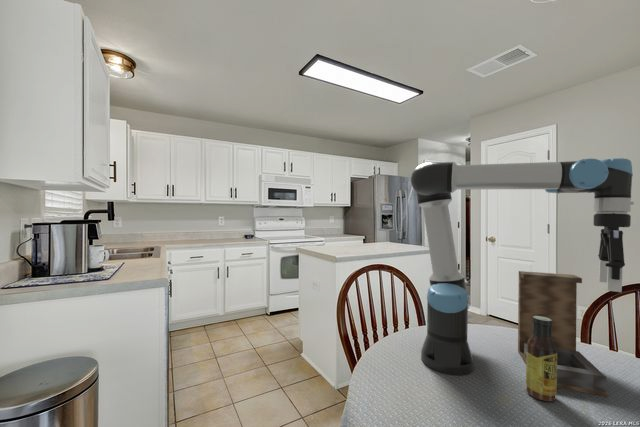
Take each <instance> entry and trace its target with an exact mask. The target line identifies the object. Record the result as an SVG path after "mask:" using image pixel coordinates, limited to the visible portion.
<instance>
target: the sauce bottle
mask: <svg viewBox="0 0 640 427" xmlns="http://www.w3.org/2000/svg"><path fill="white" fill-rule="evenodd" d="M551 326H552V320H551V319H549V318H547V317H542V316H533V335H532V336H531V337H530V338H529V340H528V343H527V362H526V364H525V365H526V369H525V385H526V392H527V394H528V395H529V396H531V397H532V398H535V399H537V400H539V401H544V402H549V403H550V402H554V401H555V400H556V395H557V388H558V387H557V351H556V348H555V345H554V343H553V340H552V337H551V336H552V335H551Z"/></svg>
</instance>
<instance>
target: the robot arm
mask: <svg viewBox="0 0 640 427" xmlns="http://www.w3.org/2000/svg"><path fill="white" fill-rule="evenodd" d="M632 164H633V163H632V161H631V160H630V159H629V158H624V157H623V158H622V157H620V158H606V159H605V158H604V159H601V160H600V159H597V158H582V159H579V160H576V161H575V160H573V161H570V160H569V161H548V162H547V161H545V162H521V163H520V162H519V163H518V162H516V163H515V162H513V163H511V162H510V163H489V164H488V163H486V164H485V163H484V164H482V163H481V164H459V165H458V164H457V163H456V162H455V161H447V162H446V161H444V162H443V161H441V162H440V161H427V162H424V163H421V164H419V165H417V167H415V169H414V170H413V171H412V173H411V177H410V184H411V186H412V189H413V190H414V191H415V193H416V198H417V205H418V206H419V207H420V208H422V209H423V210H422V211H423V217H424V224H425V228H426V229H425V231H426V236H427V243H428V249H429V256H430V263H431V264H430V265H431V270H432V274H431V275H430V276H429V285H430V286H429V287H428V289H427V294H426V301H427V306H426V307H427V309H426V311H427V314H426V317H427V320H426V323H427V324H426V329H427V330H426V336H425V340H424V342H423V344H422V347H421V349H420V350H421V351H420V358H421V361H422V363H423V364H424V365H426V366H427V367H428V368H431V369H433V370H435V371H438V372H441V373H443V374H448V375H457V376H458V375H460V376H461V375H468V374H470V373H472V372H473V371H474V364H475V362H474V357H473V354H472V351H471V348H470V347H471V346H470V345H469V341H468V331H469V330H468V327H469V326H468V324H469V323H468V320H469V318H468V317H469V316H468V315H469V314H468V313H469V312H468V310H469V308H468V307H469V306H468V305H469V293H468V290H467V287H466V281H465V276H464V275H463V274H462V273H460V271H459V267H458V260H457V254H456V248H455V241H454V234H453V228H452V221H451V216H450V215H451V214H450V210H449V208H450V207H449V205H450V203H451V202H452V200H453V199H452V193H454V192H456V191H457V190H544V191H545V192H546V193H548V194H549V193H550V194H551V193H552V194H573V193H574V194H579V193H582V194H585V193H586V194H587V193H588V194H591V193H592V194H593V193H594V194H593V195H594V198H593V212H595V213H594V214H593V226H595V227H603V228H601V229H600V242H599V244H600V245H599V249H598V251H599V252H598V255H597V256H598V259H599V264H598V266H599V268H598V271H599V272H598V273H599V274H598V282H599V283H605V284H606V291H609V292H616V293H622V292H623V291H622V290H623V267H625V266H626V263H625V255H624V254H625V253H624V241H623V236H624V232H623V230H620V228H630V227H631V224H632V223H631V222H632V220H631V216H632V215H630V214H628V213H630V212H631V210H632V209H631V208H632V207H631V206H634V204H635V202H634V201H632V186H633V185H632V184H633V175H634V174H633V165H632Z"/></svg>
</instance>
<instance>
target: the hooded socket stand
mask: <svg viewBox="0 0 640 427" xmlns="http://www.w3.org/2000/svg"><path fill="white" fill-rule="evenodd" d="M582 283H583V278H582V277H580V276H578V275H575V274H564V273H551V272H537V271H536V272H535V271H524V270H523V271H522V270H518V294H517V295H518V304H517V305H518V312H517V314H518V315H517V319H518V320H517V321H518V322H517V324H518V325H517V353H518V355H519V356H520V357H521V359H522V360H523V362H524V364H525V365H526V362H527V343H528V340H529V338H530V337H531V336H532V335H533V316H542V317H547V318H549V319H551V320H552V326H551V335H552V336H551V337H552V340H553V343H554V345H555V348H556V351H557V388H559V389H564V390H570V391H576V392H581V393H586V394H590V395H591V394H592V395H598V396H603V397H607V398H608V397H609V392H608V391H607V387H606V386H607V376H606V375H604V373H602V372H601V371H600V370H599V369H598V368H597V367H596V366H595V365H594V364H593V363H592V362H591V361H590V360H589V359H588V358H586V357H585V356H584V355H583V354H582V353H581V352H580V351H578V350H577V295H578V293H577V290H578V289H577V284H582Z"/></svg>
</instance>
